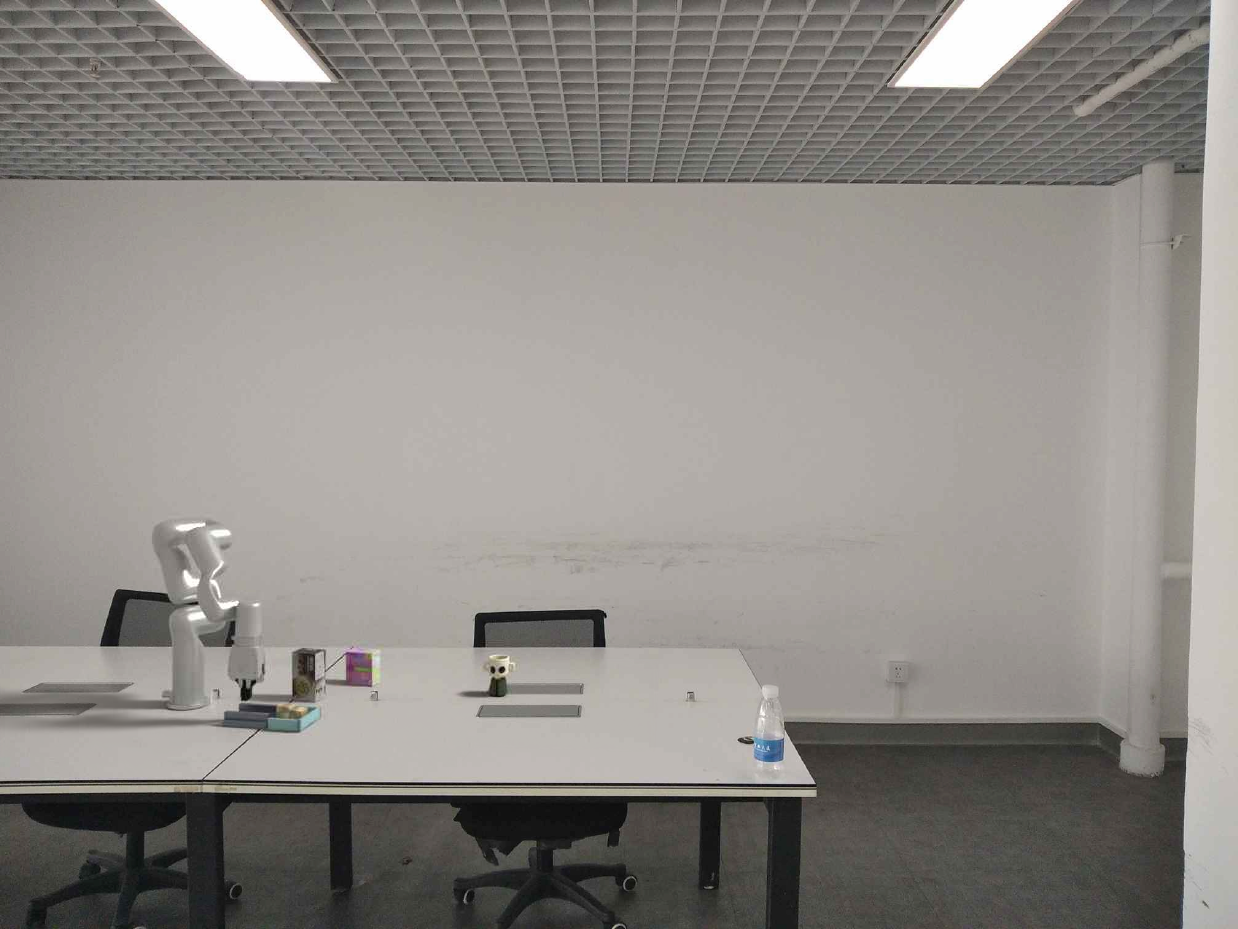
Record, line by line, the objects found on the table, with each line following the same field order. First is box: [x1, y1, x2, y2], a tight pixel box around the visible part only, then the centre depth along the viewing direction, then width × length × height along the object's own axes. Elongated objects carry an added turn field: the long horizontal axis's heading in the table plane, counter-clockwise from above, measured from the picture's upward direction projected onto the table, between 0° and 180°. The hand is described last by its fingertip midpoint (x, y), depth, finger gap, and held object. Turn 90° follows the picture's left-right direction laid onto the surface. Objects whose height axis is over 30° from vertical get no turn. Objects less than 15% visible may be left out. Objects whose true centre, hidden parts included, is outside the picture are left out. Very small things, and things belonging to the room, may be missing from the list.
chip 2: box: [288, 705, 308, 720], centre depth 285 cm, size 4×4×4 cm
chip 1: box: [276, 701, 296, 719], centre depth 286 cm, size 4×4×4 cm
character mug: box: [482, 654, 516, 696], centre depth 321 cm, size 11×7×13 cm, turn 87°
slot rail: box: [221, 702, 278, 730], centre depth 287 cm, size 14×12×4 cm
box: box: [345, 647, 381, 687], centre depth 332 cm, size 10×6×12 cm, turn 76°
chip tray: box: [267, 705, 322, 733], centre depth 285 cm, size 10×14×4 cm
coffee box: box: [291, 647, 327, 703], centre depth 312 cm, size 9×6×16 cm
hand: (246, 699), depth 288 cm, fingers closed
